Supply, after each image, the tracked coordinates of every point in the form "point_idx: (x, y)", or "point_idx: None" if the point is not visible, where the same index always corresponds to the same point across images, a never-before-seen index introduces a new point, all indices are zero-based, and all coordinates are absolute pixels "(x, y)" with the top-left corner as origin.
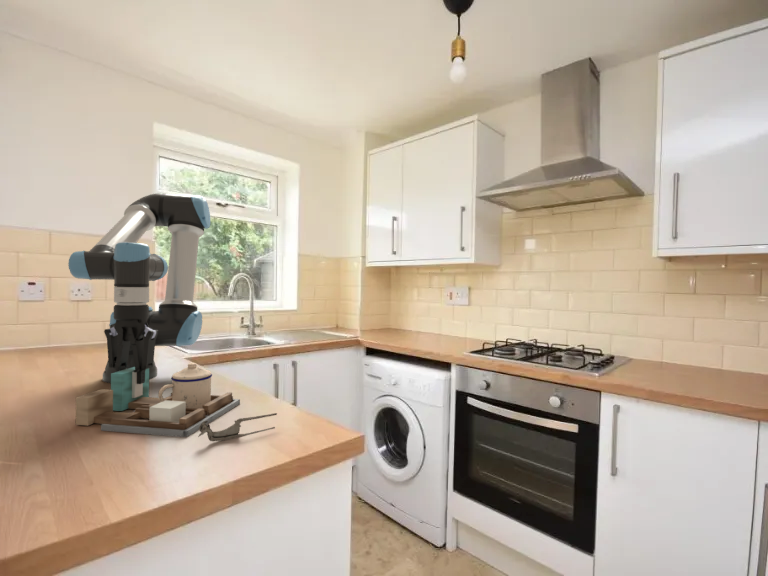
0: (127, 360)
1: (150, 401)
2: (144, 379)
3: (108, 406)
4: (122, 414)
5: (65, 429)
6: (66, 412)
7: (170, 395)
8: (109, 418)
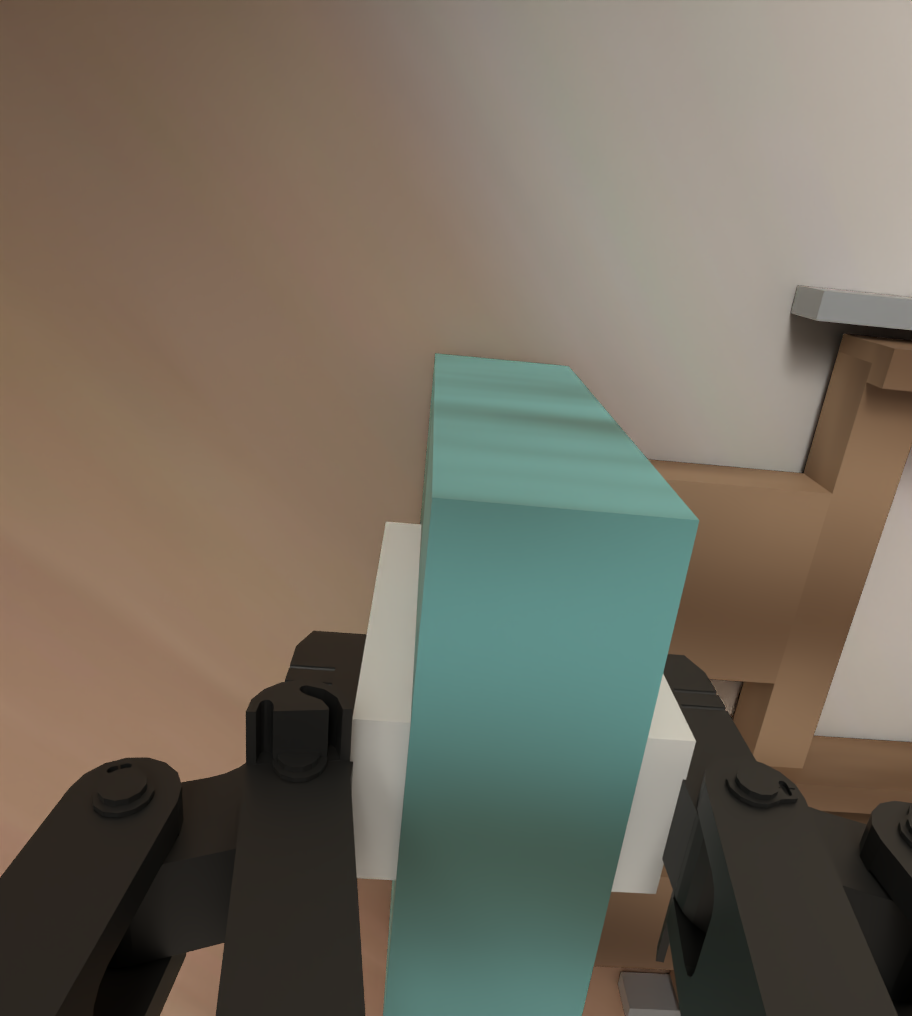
0: (354, 879)
1: (732, 609)
2: (709, 696)
3: None
4: None
5: (382, 988)
6: (63, 745)
7: (827, 318)
8: (623, 963)
